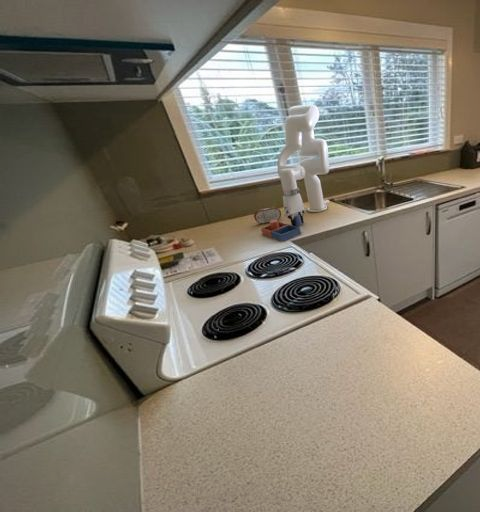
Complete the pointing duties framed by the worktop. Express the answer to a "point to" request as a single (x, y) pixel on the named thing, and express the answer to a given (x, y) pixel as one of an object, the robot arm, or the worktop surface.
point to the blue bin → (286, 232)
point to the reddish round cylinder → (274, 224)
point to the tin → (267, 215)
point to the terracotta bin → (268, 230)
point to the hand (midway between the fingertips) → (297, 223)
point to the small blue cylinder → (297, 220)
